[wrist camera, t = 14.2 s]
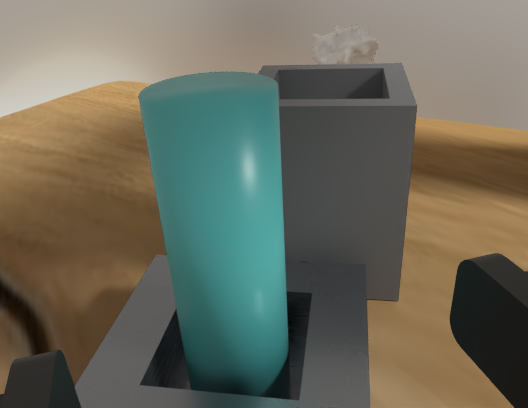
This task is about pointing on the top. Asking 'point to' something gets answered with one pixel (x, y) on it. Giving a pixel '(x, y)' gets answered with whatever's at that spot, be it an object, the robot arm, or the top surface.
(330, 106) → the upper socket stand
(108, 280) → the top surface
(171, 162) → the plug
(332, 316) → the lower socket
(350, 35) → the bust
